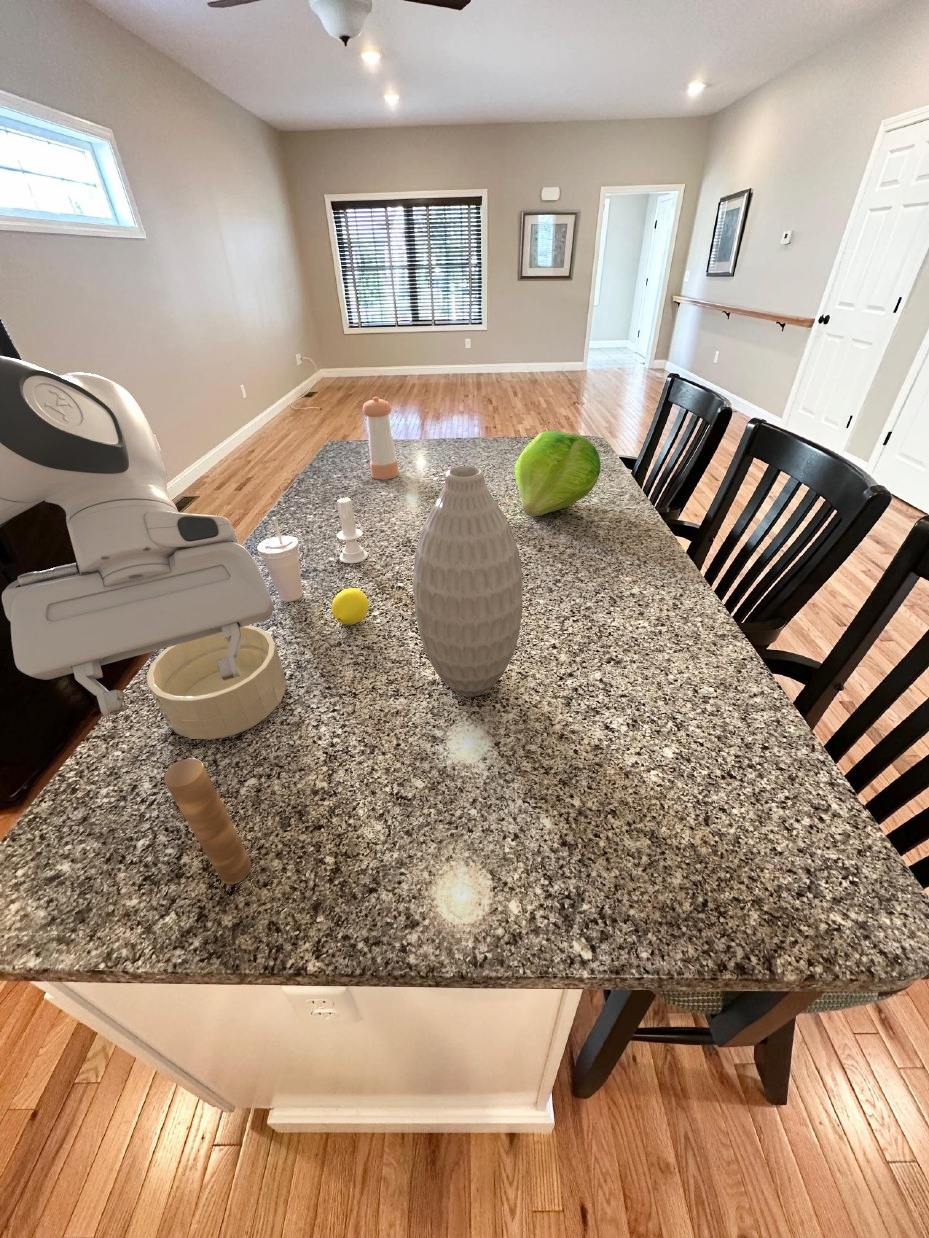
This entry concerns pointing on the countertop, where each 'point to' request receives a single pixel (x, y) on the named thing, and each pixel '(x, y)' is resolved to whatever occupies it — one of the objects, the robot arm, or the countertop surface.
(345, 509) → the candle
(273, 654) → the bowl
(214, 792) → the stick
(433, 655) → the vase
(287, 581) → the smoothie
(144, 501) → the robot arm
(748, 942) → the countertop surface
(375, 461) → the pepper shaker
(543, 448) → the lettuce
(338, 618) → the lemon
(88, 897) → the countertop surface
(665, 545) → the countertop surface
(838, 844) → the countertop surface
